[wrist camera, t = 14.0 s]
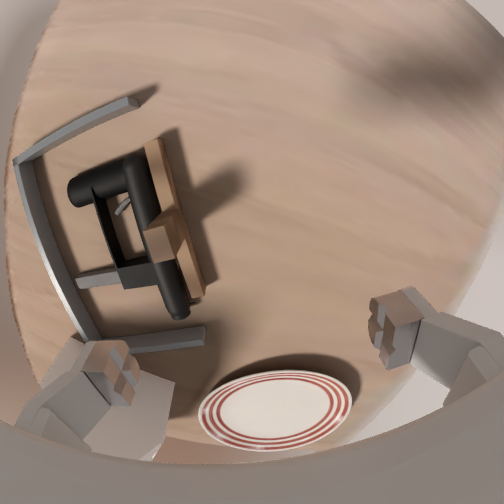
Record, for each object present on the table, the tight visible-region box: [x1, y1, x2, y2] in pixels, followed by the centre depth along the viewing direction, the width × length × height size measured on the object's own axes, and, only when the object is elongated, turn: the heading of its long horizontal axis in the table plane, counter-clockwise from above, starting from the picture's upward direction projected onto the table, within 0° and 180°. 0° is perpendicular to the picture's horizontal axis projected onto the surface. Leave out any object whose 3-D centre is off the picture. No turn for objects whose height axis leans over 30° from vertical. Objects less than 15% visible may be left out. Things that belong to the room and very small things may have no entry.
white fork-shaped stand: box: [40, 337, 175, 461], centre depth 29 cm, size 19×15×25 cm
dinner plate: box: [198, 370, 352, 452], centre depth 42 cm, size 28×27×3 cm
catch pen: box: [13, 96, 206, 354], centre depth 29 cm, size 30×18×3 cm, turn 12°
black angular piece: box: [67, 153, 196, 320], centre depth 30 cm, size 3×20×16 cm
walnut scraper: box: [143, 139, 206, 298], centre depth 26 cm, size 18×2×8 cm, turn 12°
